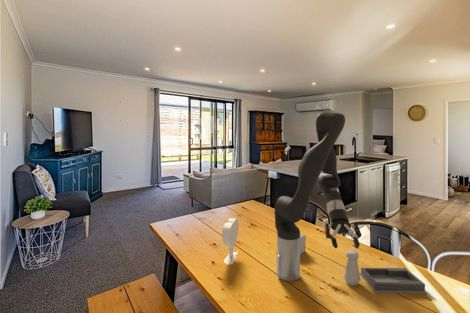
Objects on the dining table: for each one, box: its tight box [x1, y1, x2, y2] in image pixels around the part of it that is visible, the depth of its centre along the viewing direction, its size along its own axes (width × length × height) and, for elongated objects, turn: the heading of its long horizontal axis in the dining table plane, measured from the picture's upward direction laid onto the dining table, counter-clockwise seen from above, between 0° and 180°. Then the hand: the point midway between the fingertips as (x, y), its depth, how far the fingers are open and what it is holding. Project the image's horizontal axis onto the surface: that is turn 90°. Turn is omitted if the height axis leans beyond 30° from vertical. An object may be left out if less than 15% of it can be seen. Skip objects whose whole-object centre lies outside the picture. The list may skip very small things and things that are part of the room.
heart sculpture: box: [221, 217, 239, 265], centre depth 118 cm, size 16×5×18 cm, turn 165°
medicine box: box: [300, 233, 307, 255], centre depth 122 cm, size 8×4×9 cm, turn 135°
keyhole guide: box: [359, 267, 426, 295], centre depth 96 cm, size 18×12×3 cm, turn 87°
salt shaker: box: [343, 249, 361, 287], centre depth 96 cm, size 6×6×13 cm
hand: (346, 247), depth 101 cm, fingers open, 8 cm apart
